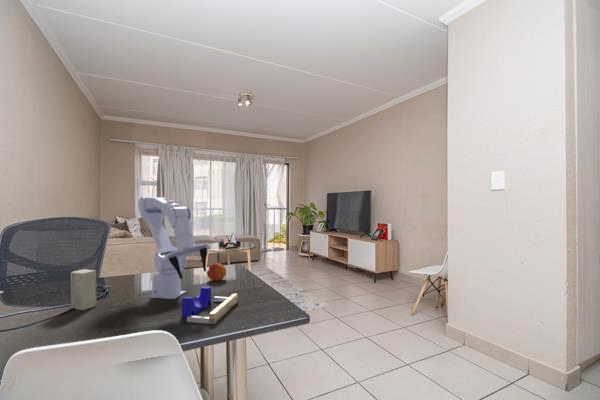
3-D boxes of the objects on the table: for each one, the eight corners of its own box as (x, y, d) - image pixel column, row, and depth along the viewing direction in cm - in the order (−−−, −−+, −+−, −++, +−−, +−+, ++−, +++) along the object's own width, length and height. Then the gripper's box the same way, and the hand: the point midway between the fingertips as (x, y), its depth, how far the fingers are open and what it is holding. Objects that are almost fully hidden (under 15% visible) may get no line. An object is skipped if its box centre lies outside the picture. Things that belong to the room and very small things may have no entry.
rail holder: (187, 321, 82) (187, 311, 82) (215, 300, 100) (215, 292, 100) (214, 324, 81) (214, 313, 81) (237, 302, 99) (237, 293, 99)
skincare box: (96, 306, 94) (97, 270, 94) (82, 311, 90) (83, 273, 90) (84, 303, 96) (84, 268, 96) (69, 308, 92) (70, 271, 92)
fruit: (209, 278, 129) (209, 260, 129) (227, 277, 130) (227, 260, 130) (205, 283, 121) (205, 264, 121) (224, 282, 122) (224, 264, 122)
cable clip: (199, 303, 98) (199, 286, 98) (210, 304, 97) (211, 287, 97) (177, 317, 86) (177, 297, 86) (190, 318, 85) (190, 298, 85)
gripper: (159, 239, 92) (168, 279, 87) (205, 228, 97) (215, 264, 92) (163, 246, 98) (171, 283, 93) (205, 234, 103) (215, 269, 99)
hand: (193, 274), depth 93 cm, fingers open, 7 cm apart
